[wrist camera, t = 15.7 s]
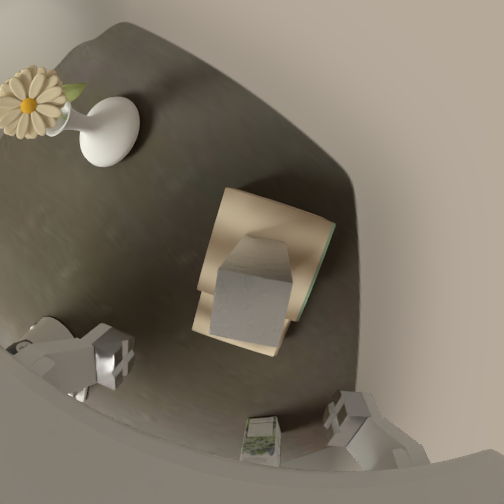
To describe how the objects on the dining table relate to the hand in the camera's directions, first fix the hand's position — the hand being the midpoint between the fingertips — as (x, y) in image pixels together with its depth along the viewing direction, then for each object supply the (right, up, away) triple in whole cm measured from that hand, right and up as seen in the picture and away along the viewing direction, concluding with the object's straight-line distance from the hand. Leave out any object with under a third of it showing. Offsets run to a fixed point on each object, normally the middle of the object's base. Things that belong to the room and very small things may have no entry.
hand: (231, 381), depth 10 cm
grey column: (+2, +4, +20) cm, 21 cm away
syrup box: (+3, -28, +35) cm, 45 cm away
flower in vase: (-20, +24, +27) cm, 41 cm away
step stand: (+1, +2, +29) cm, 29 cm away
